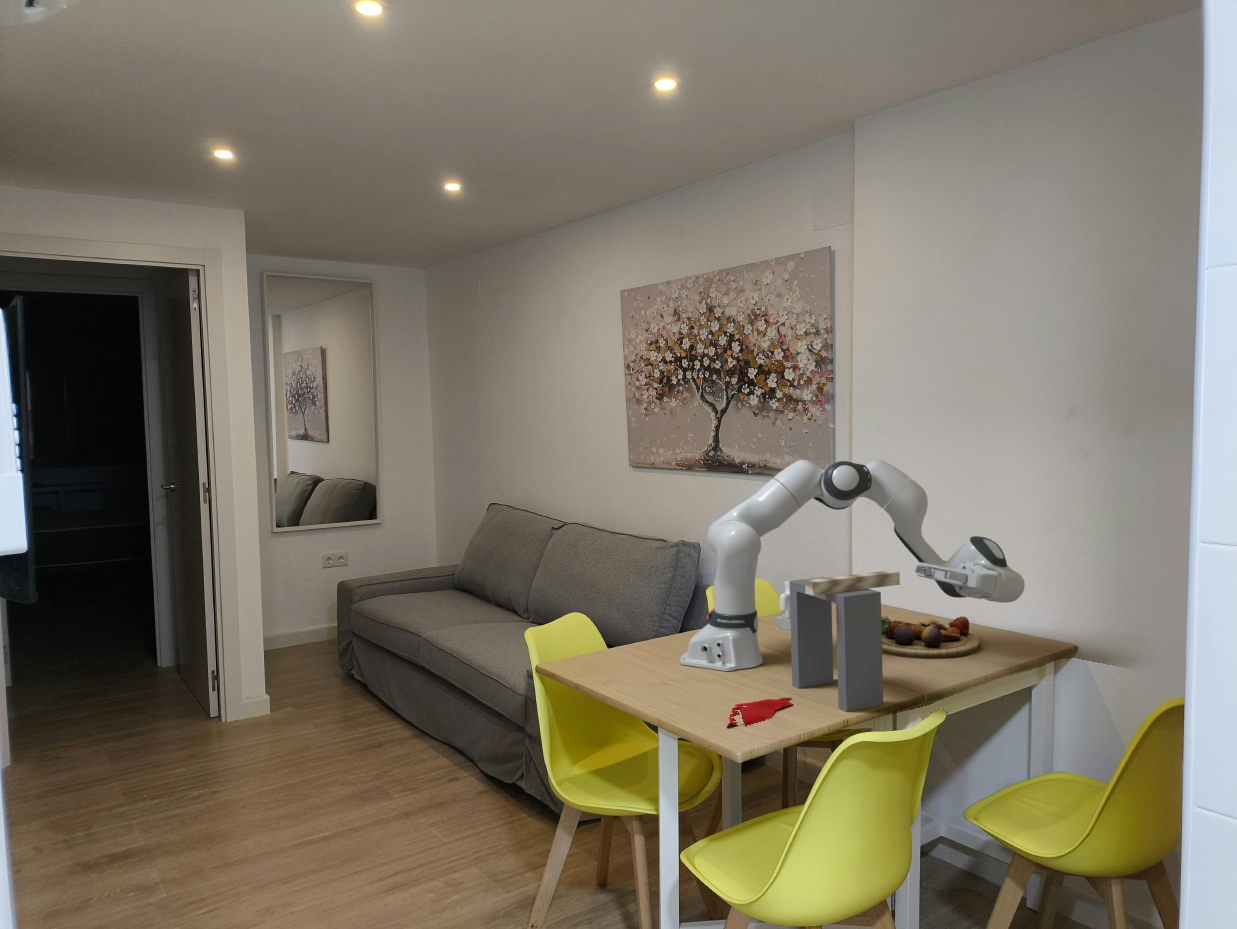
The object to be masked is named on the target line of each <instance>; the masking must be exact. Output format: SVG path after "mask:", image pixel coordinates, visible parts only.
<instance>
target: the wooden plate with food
mask: <svg viewBox="0 0 1237 929" xmlns="http://www.w3.org/2000/svg"><path fill="white" fill-rule="evenodd" d="M881 625H882V654H885V655H889V656H890V655H891V656H895V657H903V658H912V659H913V658H914V659H950V658H951V659H953V658H960V657H964V656H967V655H971V654H973V653H975V652H977V651H978V650H979V649H980V648H981V644H982V643H981V640H980V638H979V637H978V636H977V635H975V634H973V633H972V632H969V631H970V621H969V619H968V618H967V617H966V616H961V615H960V616H959V617H955V619H953V621H950V622H948V626H946V625H945V624H943V623H941V622H939V620H934V619H927V620H919V621H918V622H905V621H901V620H899V619H898V620H891V619H890V618H889V615H886V616H881Z"/></svg>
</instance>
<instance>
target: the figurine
mask: <svg viewBox="0 0 1237 929" xmlns="http://www.w3.org/2000/svg"><path fill="white" fill-rule="evenodd" d="M790 581H791V580H788V581H787V580H786V581H784V588H785V592H784V593H781V594H780V596H779V610H780V612H783V613H784V612H785V613H784V614H781V615H778V616H776V617H774V619H775V621H776V623H777V624H778V626H779V628H780V629H781V630H785V629H787V630H786V631H791V618H790Z"/></svg>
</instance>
